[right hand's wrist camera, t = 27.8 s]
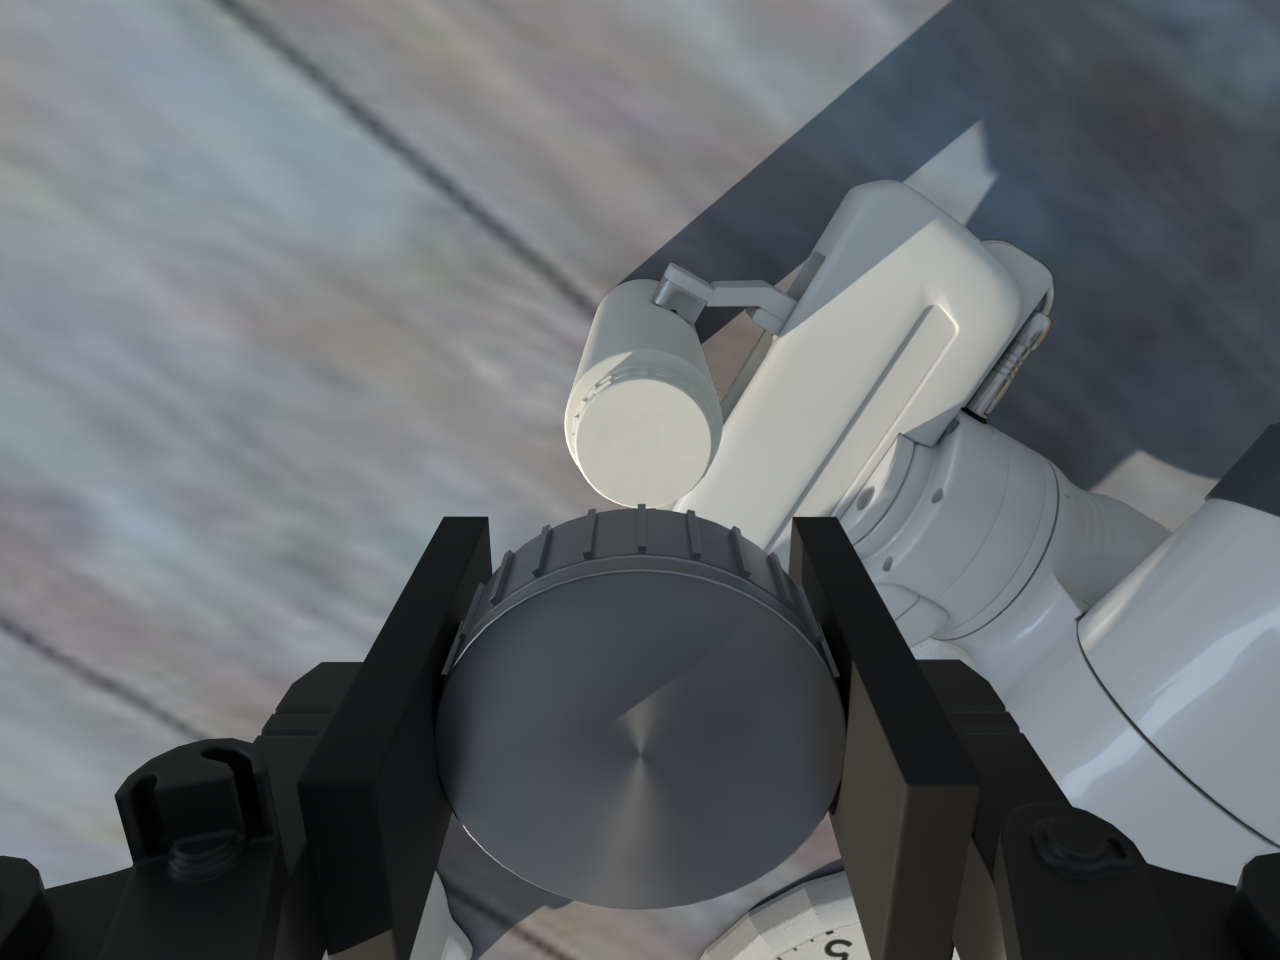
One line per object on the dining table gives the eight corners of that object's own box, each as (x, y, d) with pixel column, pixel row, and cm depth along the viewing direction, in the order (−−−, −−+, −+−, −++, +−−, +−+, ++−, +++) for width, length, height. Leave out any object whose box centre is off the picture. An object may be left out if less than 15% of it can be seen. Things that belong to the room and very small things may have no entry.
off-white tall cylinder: (711, 342, 39) (760, 465, 23) (630, 396, 40) (622, 551, 24) (656, 258, 37) (667, 327, 21) (573, 316, 38) (524, 424, 22)
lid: (443, 499, 11) (407, 561, 10) (839, 502, 11) (876, 563, 10) (469, 812, 13) (443, 913, 11) (808, 815, 13) (834, 915, 11)
